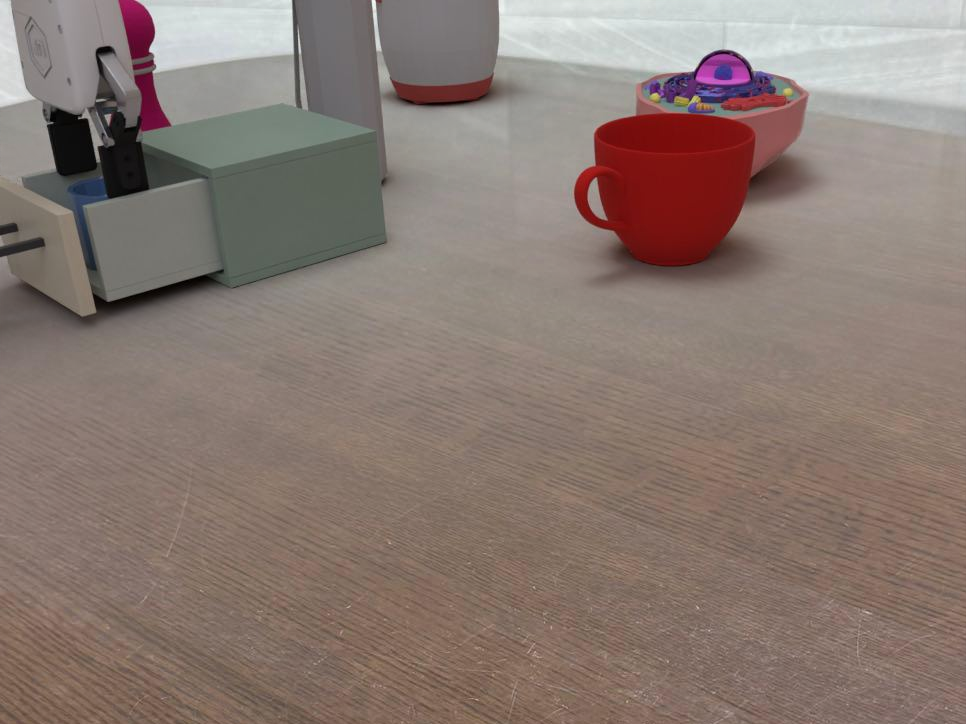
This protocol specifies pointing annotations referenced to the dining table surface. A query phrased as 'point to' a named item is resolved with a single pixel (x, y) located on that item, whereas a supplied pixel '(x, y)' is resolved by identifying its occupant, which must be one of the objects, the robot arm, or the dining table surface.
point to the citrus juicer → (439, 47)
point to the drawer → (109, 235)
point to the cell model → (732, 100)
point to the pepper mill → (143, 62)
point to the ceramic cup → (669, 183)
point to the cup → (78, 197)
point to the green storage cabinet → (281, 186)
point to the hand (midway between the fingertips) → (102, 183)
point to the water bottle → (339, 63)
